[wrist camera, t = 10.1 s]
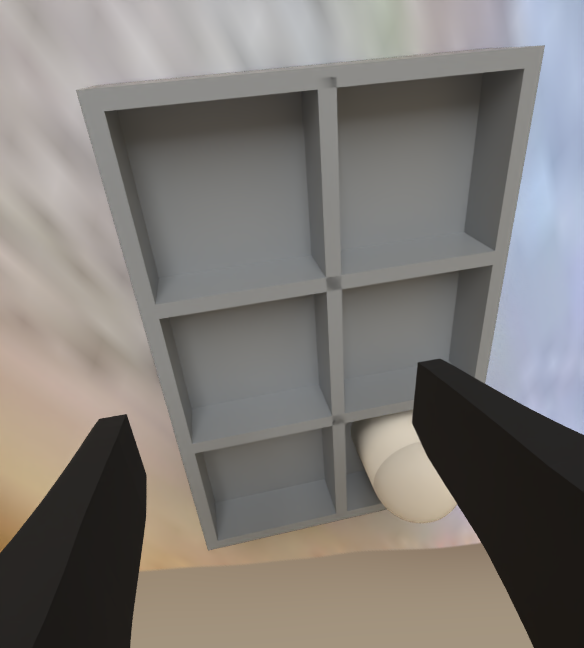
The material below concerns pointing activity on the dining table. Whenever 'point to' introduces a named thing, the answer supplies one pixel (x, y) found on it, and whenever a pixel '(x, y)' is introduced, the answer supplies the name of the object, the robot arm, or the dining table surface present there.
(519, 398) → the dining table surface
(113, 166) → the grey compartment tray
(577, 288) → the dining table surface
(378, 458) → the egg
